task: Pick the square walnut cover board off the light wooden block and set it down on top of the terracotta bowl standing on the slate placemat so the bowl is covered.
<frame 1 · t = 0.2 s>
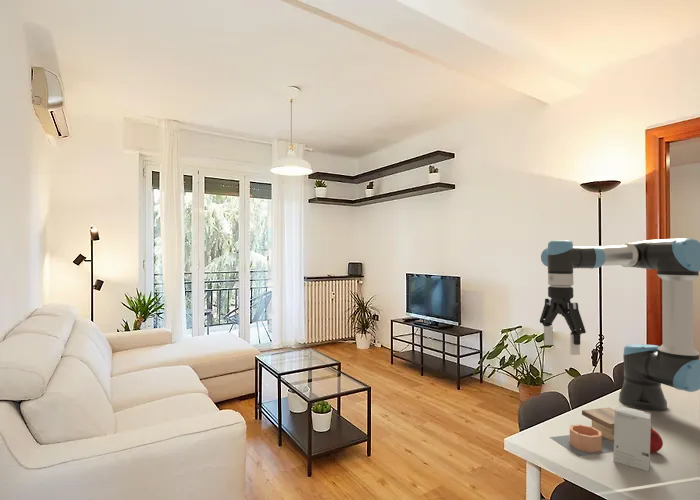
hand: (561, 349, 130), 27 cm above the table, fingers open, 13 cm apart
light wooden block: (609, 435, 126), on the table
cover board: (609, 419, 126), point 5 cm above the table, touching light wooden block
placemat: (585, 445, 120), on the table
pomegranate: (650, 453, 115), on the table
bowl: (585, 445, 118), resting on placemat
skincare box: (632, 464, 109), on the table
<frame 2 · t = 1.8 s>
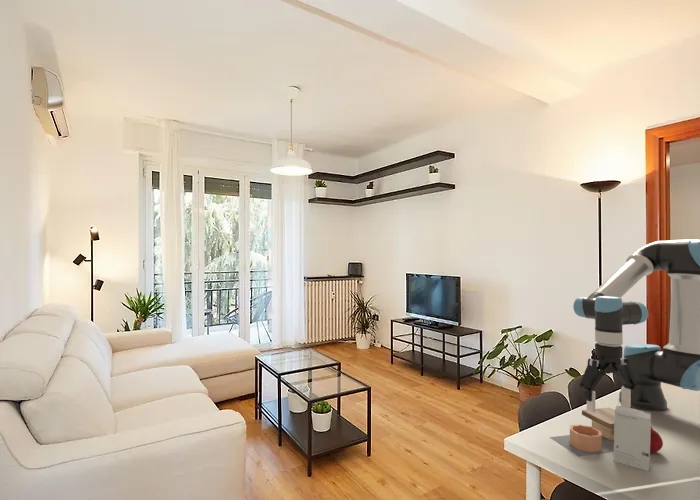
hand: (608, 409, 126), 8 cm above the table, fingers open, 13 cm apart
nothing on the table moved.
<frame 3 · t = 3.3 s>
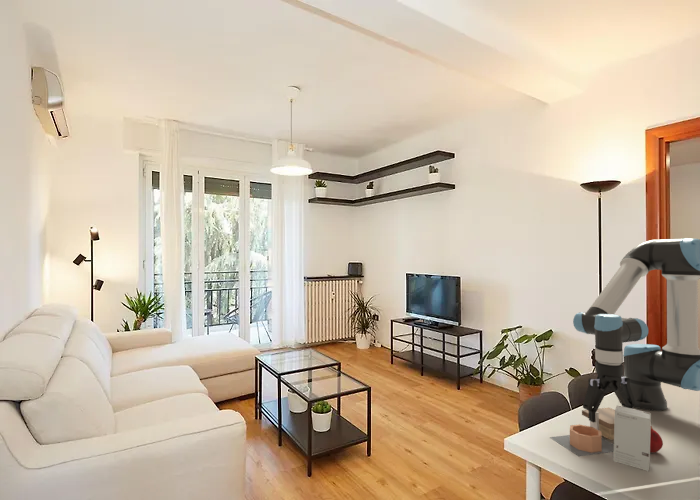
hand: (609, 429, 126), 2 cm above the table, fingers closed on cover board, 11 cm apart
cover board: (609, 419, 126), point 5 cm above the table, touching light wooden block, gripper
everything else where it was.
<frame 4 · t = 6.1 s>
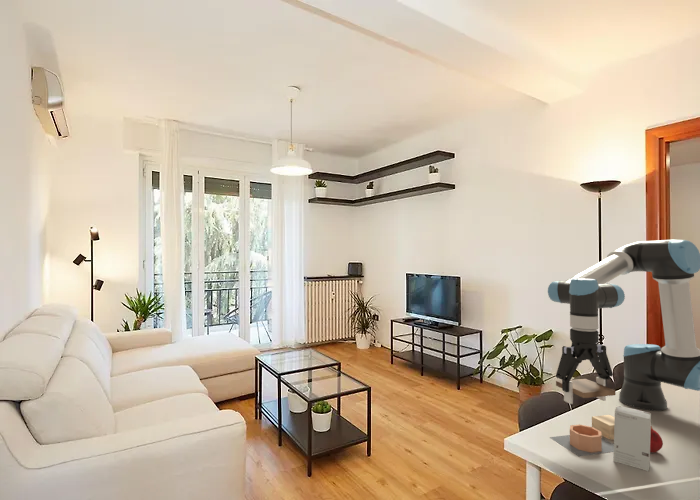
hand: (584, 400, 119), 14 cm above the table, fingers closed on cover board, 11 cm apart
cover board: (584, 390, 119), point 17 cm above the table, touching gripper
everything else where it was.
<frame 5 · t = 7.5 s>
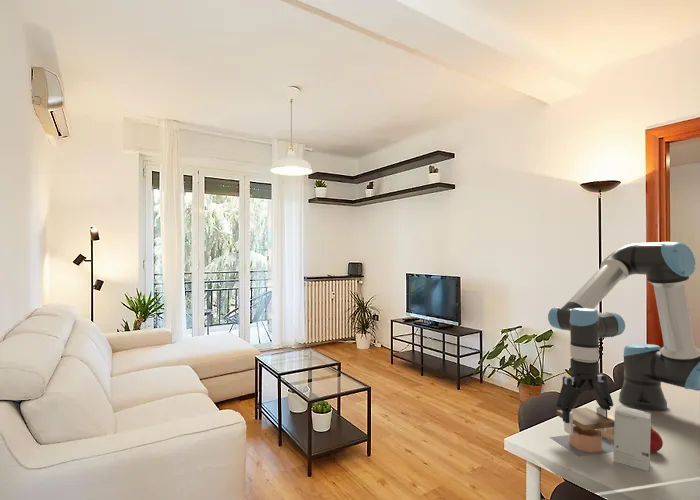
hand: (585, 431, 118), 5 cm above the table, fingers closed on cover board, 11 cm apart
cover board: (585, 420, 119), point 8 cm above the table, touching gripper
everything else where it was.
when the fingers open (4 cm above the table, at t = 8.8 s): cover board drops 2 cm, resting on bowl.
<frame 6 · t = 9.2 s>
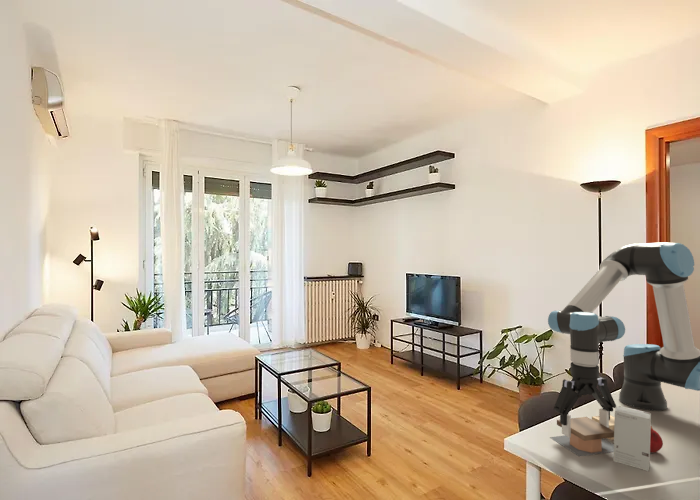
hand: (585, 433, 118), 4 cm above the table, fingers open, 13 cm apart
cover board: (585, 430, 118), point 5 cm above the table, touching bowl
everything else where it was.
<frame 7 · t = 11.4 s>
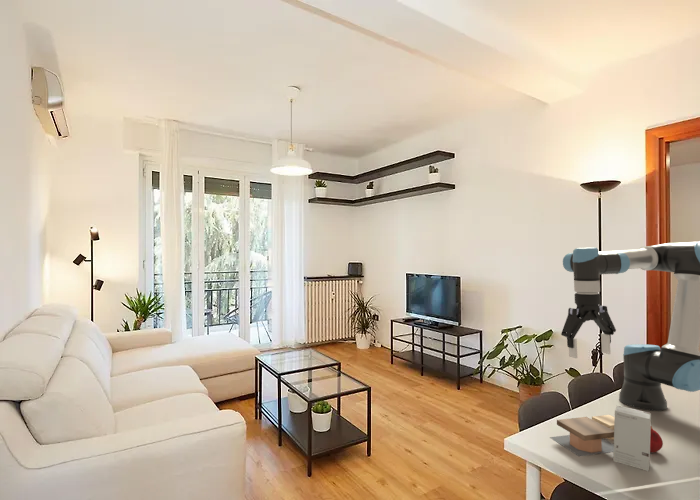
hand: (589, 355, 132), 25 cm above the table, fingers open, 13 cm apart
nothing on the table moved.
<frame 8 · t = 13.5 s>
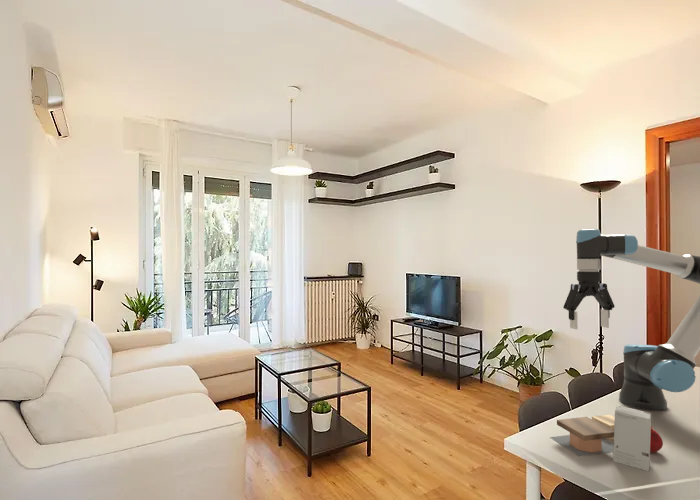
hand: (589, 328, 144), 32 cm above the table, fingers open, 13 cm apart
nothing on the table moved.
at the end: cover board 0.0 cm off-centre on the bowl, point 4.5 cm above the bowl's base; cover board tilted 0°; the gripper is holding nothing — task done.
